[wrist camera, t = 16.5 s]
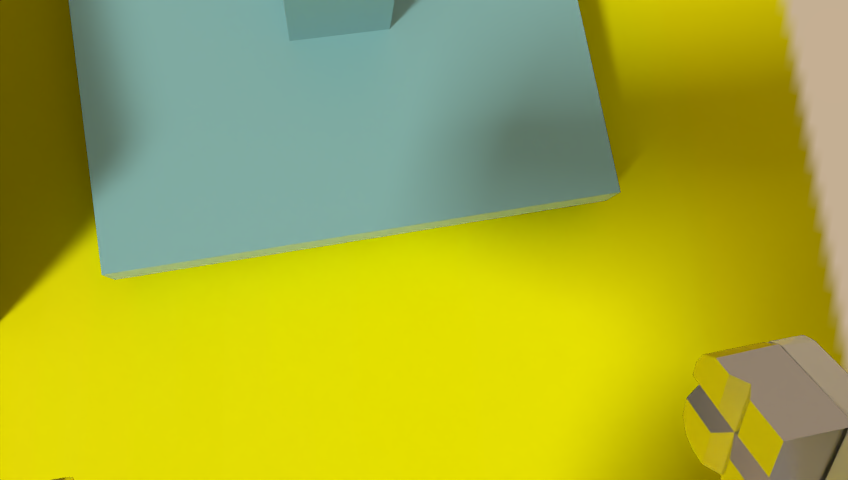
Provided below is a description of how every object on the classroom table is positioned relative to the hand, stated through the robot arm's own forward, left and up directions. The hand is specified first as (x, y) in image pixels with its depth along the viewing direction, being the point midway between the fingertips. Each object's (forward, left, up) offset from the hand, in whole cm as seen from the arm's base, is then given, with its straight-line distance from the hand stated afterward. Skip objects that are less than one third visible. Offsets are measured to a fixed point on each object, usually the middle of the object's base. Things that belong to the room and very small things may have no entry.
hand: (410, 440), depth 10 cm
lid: (+12, -2, -12) cm, 17 cm away
